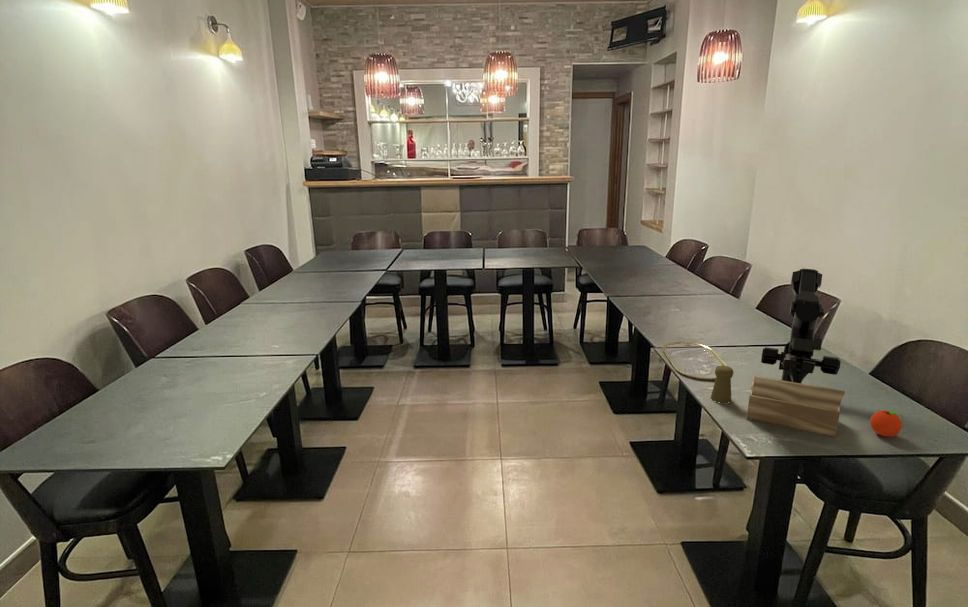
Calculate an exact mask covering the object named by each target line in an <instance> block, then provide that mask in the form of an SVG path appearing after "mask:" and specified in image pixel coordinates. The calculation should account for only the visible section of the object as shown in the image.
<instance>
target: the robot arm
mask: <svg viewBox="0 0 968 607" xmlns="http://www.w3.org/2000/svg"><path fill="white" fill-rule="evenodd" d="M822 280H823V273H820V272H819V270H818V269H815V268H814V269H812V268H800V269H799V270H796V271H793V272H792V275H791V280H790V286H792V290H791V292H792V293H793V295H794V300H793V301H791V303H790V309H789V315H791V317H792V318H793V321H792V323H791V330H790V338H789V341H788V342H787V343H786V344H785V345H784V349H783V351H781V352H780V353H779V350H780V349H779V348H772V347H764V348H762V351H761V359H760V360H761V361H760V363H761V364H765V365H770V366H771V365H772V366H773V365H776V363H777V361H779V364H778V371H780V370H782V375H781V380H783V381H789V382H795V383H800V384H803V383H802V382H803V381H804V380H805V378H806V376H807V375H809V374H813V373H814V370H815V367H817V368H820V371H821V372H822V373H823V374H828V375H834V376H835V375H838V373H839V371H840V368H841V359H840V358H839V357H833V356H827V355H823V357H822V359H817V358H813V357H814V351H821V350H822V344H823V343H822V342H823V338H820V337H815V329H816V327H817V324H818V320H819V318H820V319H821V318H822V317H824V315H825V309H824V308H823V305H822V304H821V303H820V297H819V296H817V295H816V294H817V292H818V289H820V288H821V285H822V282H823V281H822Z"/></svg>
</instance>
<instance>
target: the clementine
mask: <svg viewBox="0 0 968 607" xmlns="http://www.w3.org/2000/svg"><path fill="white" fill-rule="evenodd" d="M898 415H899V416H901V418H900V417H899V416H898ZM870 417H871V418H870V420H869V421H870V422H869V423H870V427H871V428H872V430H873V431H874V432H875V433H876V434H878V435H880V436H883V437H893V436H894V437H895V436H896V435H898V434H899V433H900V432H901V430H902V429H903V428H902V427H903V426H902V425H903V422H902V420H903V419H904V418H903V416H902V415H901V414H900V413H898V412H896V411H892V410H886V409H885V410H884V409H883V410H878V411H876V412H874V413H873V414H872V416H870ZM901 419H902V420H901Z"/></svg>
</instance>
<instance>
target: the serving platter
mask: <svg viewBox="0 0 968 607" xmlns="http://www.w3.org/2000/svg"><path fill="white" fill-rule="evenodd" d="M681 343H684V344H685V343H686V344H695V345H699V346H702V347H704V348H706V349H708V350H709V351H711V352H712V354H713V355H714V356H715V358H717V360H719V362H720V363H721V364H722V365H723V366H727V364H726V363H725V362H724V361H723V359H721V358H720V356H718V354H717V353H716V352H715V351H714V350H713V349H712V348H710V347H709V346H706V345H703V344H701V343H696V342H691V341H690V342H689V341H671V342H668V343H665V344H664V345H662V351H663V353H664V354H665V356H666V357H667V359H668V360H669V363H671V365H672V366H673V368H674V370H676V372H677V373H679V374H680V375H682V374H683V376H685V375H686V377H687V376H689V377H688V378H690V377H692V378H691V379H694V378H696V379H695V380H700V379H703V381H715V380H716V377H703V376H702V377H701V376H696V375H691V374H688V373H685V372H683V371H681V370H679V369H677V368H678V367H677V366H676V367H677V368H676V367H675V365H676V364H675V363H674V361H673V360H672V358H671V357H670V355H669V354H668V352H667V351H666V352H667V353H666V352H665V348H666V347H667V346H668V345H669V346H670V345H674V344H681ZM667 354H668V355H669V356H668V355H667ZM669 357H670V358H671V359H670V358H669ZM671 360H672V361H673V362H672V361H671ZM673 363H674V364H675V365H674V364H673Z"/></svg>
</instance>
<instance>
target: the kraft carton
mask: <svg viewBox="0 0 968 607" xmlns="http://www.w3.org/2000/svg"><path fill="white" fill-rule="evenodd" d="M751 381H752V382H751V387H750V392H749V397H748V404H747V412H746V418H747V419H746V420H750V419H752V420H751V421H754V420H755V421H756V422H759V421H760V422H759V423H766V424H771V425H774V426H778V427H779V426H780V427H784V428H789V429H794V430H799V431H803V432H808V433H813V434H817V435H823V436H827V437H833V438H836V435H837V430H838V426H839V425H838V424H839V420H840V414H841V410H840V407H839V408H838V410H837V411H833V410H828V409H823V408H817V407H812V406H807V405H801V404H796V403H791V402H785V401H780V400H775V399H769V398H764V397H759V396H753V395H752V394H753V385H754V379H753V380H751ZM755 421H754V422H755Z"/></svg>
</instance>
